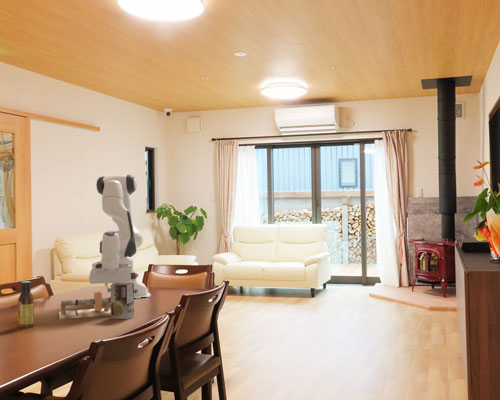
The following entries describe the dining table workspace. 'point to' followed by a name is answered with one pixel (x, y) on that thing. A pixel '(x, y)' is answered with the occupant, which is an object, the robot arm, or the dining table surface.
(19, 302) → the sauce bottle
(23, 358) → the dining table surface
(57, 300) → the dining table surface
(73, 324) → the dining table surface
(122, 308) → the coffee box
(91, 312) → the pipe stand
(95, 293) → the bridge block
